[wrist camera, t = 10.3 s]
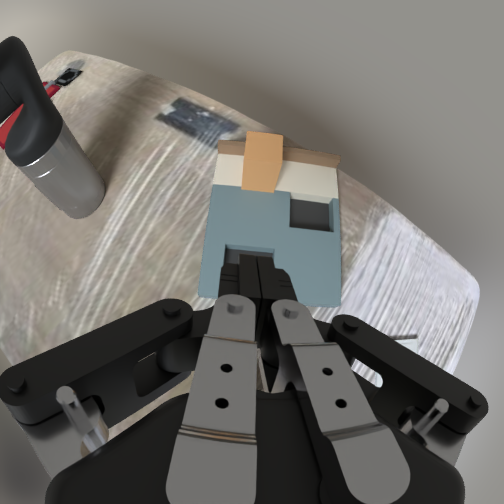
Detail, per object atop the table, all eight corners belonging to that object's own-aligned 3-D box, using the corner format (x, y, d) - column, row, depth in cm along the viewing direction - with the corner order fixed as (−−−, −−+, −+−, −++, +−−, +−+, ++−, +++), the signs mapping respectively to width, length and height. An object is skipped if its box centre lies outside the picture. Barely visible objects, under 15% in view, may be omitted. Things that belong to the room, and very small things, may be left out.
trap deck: (199, 297, 40) (195, 291, 35) (219, 157, 47) (218, 139, 42) (334, 307, 40) (347, 303, 36) (331, 171, 48) (340, 155, 43)
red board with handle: (86, 74, 54) (63, 68, 56) (83, 67, 51) (60, 62, 53) (8, 154, 46) (-6, 140, 47) (3, 149, 43) (-10, 134, 45)
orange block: (241, 189, 42) (243, 158, 35) (244, 163, 44) (247, 131, 36) (273, 192, 43) (282, 163, 35) (274, 166, 44) (283, 135, 36)
